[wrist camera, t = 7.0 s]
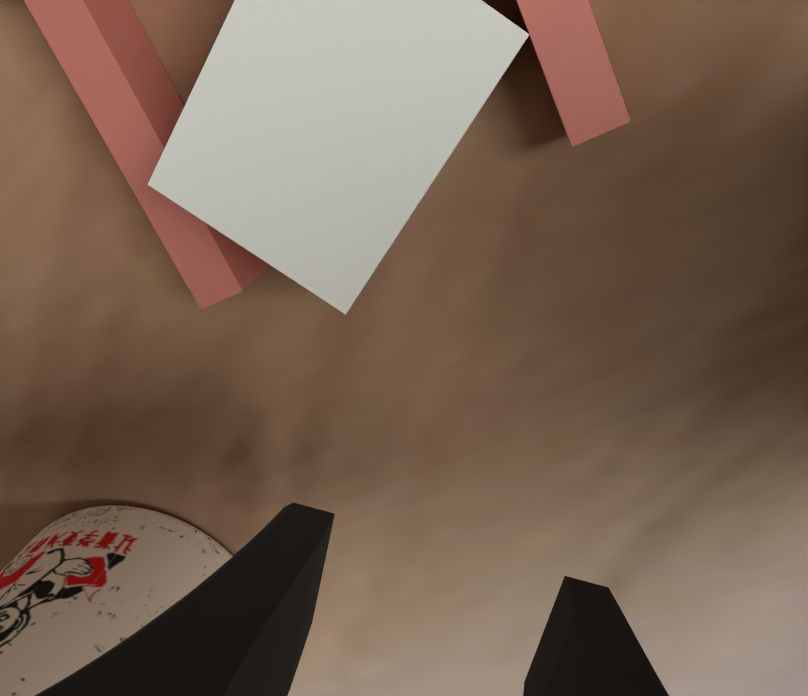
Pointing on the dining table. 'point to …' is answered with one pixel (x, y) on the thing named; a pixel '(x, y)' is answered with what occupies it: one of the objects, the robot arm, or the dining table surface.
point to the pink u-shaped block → (161, 108)
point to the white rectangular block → (330, 126)
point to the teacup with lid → (93, 589)
